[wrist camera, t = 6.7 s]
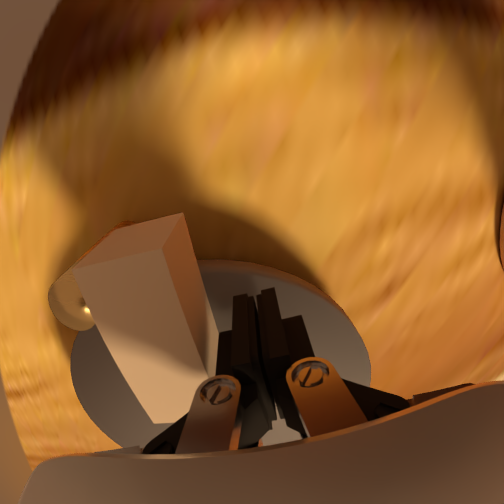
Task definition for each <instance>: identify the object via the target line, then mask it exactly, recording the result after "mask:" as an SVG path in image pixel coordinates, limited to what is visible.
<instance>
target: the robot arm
mask: <svg viewBox="0 0 504 504" xmlns="http://www.w3.org/2000/svg"><path fill="white" fill-rule="evenodd" d="M500 253H501V260H502V265H503V268H504V204H503V210H502V216H501V225H500ZM256 299H257V307H256V303H255V300H254V296H249V297H248V294H247V293H246V294H241V295H236V296H233V310H232V330H228V331H223V332H220V333H219V338H218V349H217V361H216V373H215V376H213V377H211V378H208V379H207V380H205V381H203V382H202V383H201V384H200V385H199V386H198V388H197V390H196V392H195V395H194V398H193V401H192V404H191V407H190V410H189V412H188V413H186V414H185V415H184V416H183V417H181V418H180V419H179V420H177V421H176V422H175V423H174V424H172V425H171V426H170V427H168V428H167V429H166V430H164V431H163V432H162V433H160V434H159V435H158V436H156V437H155V438H154V439H152V440H151V441H150V442H149V443H148V444H147V445H146V446H145V447H144V448H142V447H141V446H140V445H138V446H133V447H127V448H121V449H115V450H108V451H101V452H94V453H74V454H65V455H60V456H56V457H52V458H50V459H47V460H45V461H43V462H41V463H40V464H39V465H38V466H37V467H36V468H35V469H34V471H33V472H32V474H31V476H30V477H29V479H28V481H27V483H26V485H25V487H24V490H23V492H22V494H21V497H20V500H19V502H18V504H504V381H491V382H484V383H479V384H472V383H467V384H461V385H457V386H454V387H449V388H445V389H441V390H436V391H432V392H427V393H422V394H417V395H413V398H412V399H408V400H405V399H404V398H402V397H400V396H397V395H394V394H390V393H387V392H383V391H380V390H377V389H373V388H370V387H367V386H364V385H361V384H357V383H354V382H351V381H348V380H345V379H342V378H341V377H340V376H339V374H338V372H337V371H336V369H335V368H334V366H333V365H332V364H331V363H330V362H329V361H328V360H326V359H324V358H319V357H315V355H314V352H313V349H312V345H311V342H310V339H309V336H308V333H307V330H306V327H305V324H304V321H303V318H302V315H298V316H294V317H289V318H285V319H281V314H280V310H279V305H278V301H277V296H276V292H275V287H272V288H268V289H264V290H261V294H258V295H256ZM257 309H258V311H257ZM275 403H276V406H275ZM276 407H277V410H278V413H279V416H280V419H285V422H286V425H287V427H289V428H291V429H293V430H295V431H297V432H299V435H300V438H301V439H300V440H295V441H290V442H285V443H279V444H273V445H267V446H263V439H262V437H263V436H264V435H265V434H266V433H267V432H268V431H269V430H273V428H272V421H275V420H277V414H276Z"/></svg>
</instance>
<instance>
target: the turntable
mask: <svg viewBox="0 0 504 504" xmlns="http://www.w3.org/2000/svg"><path fill="white" fill-rule="evenodd" d="M72 272H73V275H74V277H75V280H76V282H77V284H78V287H79V289H80V291H81V294H82V296H83V298H84V300H85V303H86V305H87V307H88V309H89V311H90V314H91V316H92V318H93V320H94V322H95V324H94V326H93V327H92V328H90V329H88V330H85V331H79V333H78V335H77V337H76V339H75V341H74V344H73V349H72V353H71V376H72V382H73V386H74V389H75V392H76V394H77V397H78V399H79V401H80V403H81V405H82V406H83V408H84V410H85V411H86V413H87V414H88V415H89V417H90V418H91V420H92V421H93V422H94V423H95V424H96V425H97V426H98V427H99V428H100V430H102V431H103V432H104V433H105V434H106V435H107V436H108V437H109V438H111V439H112V440H113V441H114V442H116V443H117V444H119V445H120V446H121V447H123V448H127V447H133V446H138V445H140V446H141V447H142V448H144V447H145V446H146V445H147V444H148V443H149V442H150V441H151V440H152V439H154V438H155V437H156V436H158V435H159V434H160V433H162V432H163V431H164V430H166V429H167V428H168V427H170V426H171V425H172V424H174V423H175V422H176V421H177V420H179V419H180V418H181V417H183V416H184V415H185V414H186V413H188V412H189V410H190V407H191V404H192V401H193V398H194V395H195V392H196V390H197V388H198V386H199V385H200V384H201V383H202V382H203V381H205V380H207V379H208V378H211V377H213V376H215V373H216V361H217V349H218V338H219V333H220V332H223V331H228V330H232V310H233V296H236V295H241V294H246V293H247V294H248V297H249V296H254V300H255V303H256V307H257V299H256V295H258V294H261V290H264V289H268V288H272V287H275V292H276V296H277V301H278V305H279V310H280V314H281V319H285V318H289V317H294V316H298V315H302V318H303V321H304V324H305V327H306V330H307V333H308V336H309V339H310V342H311V345H312V349H313V352H314V355H315V357H319V358H324V359H326V360H328V361H329V362H330V363H331V364H332V365H333V366H334V368H335V369H336V371H337V372H338V374H339V376H340V377H341V378H342V379H345V380H348V381H351V382H354V383H357V384H361V385H364V386H367V387H370V382H371V365H370V360H369V355H368V352H367V349H366V347H365V345H364V342H363V340H362V338H361V336H360V335H359V333H358V332H357V330H356V328H355V327H354V325H353V323H352V322H351V320H350V319H349V318H348V316H347V315H346V313H345V312H344V311H343V309H342V308H341V307H340V306H339V305H338V304H337V303H336V302H335V301H334V300H333V299H332V298H331V297H330V296H328V295H327V294H325V293H324V292H323V291H321V290H320V289H318V288H317V287H316V286H314V285H313V284H311V283H309V282H307V281H305V280H303V279H301V278H299V277H297V276H295V275H293V274H290V273H287V272H284V271H282V270H279V269H276V268H273V267H269V266H265V265H260V264H256V263H251V262H246V261H236V260H226V259H204V260H196V257H195V253H194V250H193V246H192V242H191V239H190V235H189V231H188V228H187V224H186V220H185V216H184V213H183V212H182V213H178V214H174V215H170V216H166V217H161V218H157V219H153V220H150V221H146V222H142V223H138V224H134V225H130V226H126V227H123V228H119V229H115V230H114V231H113V232H112V233H111V234H109V235H108V236H107V237H106V238H105V239H104V240H103V241H102V242H100V243H99V244H98V245H97V246H96V247H95V248H94V249H93V250H92V251H91V252H90V253H89V254H87V255H86V256H85V257H84V258H83V259H82V260H81V261H80V262H79V263H78V264H77V265H76V266H75V267H74V268H73V269H72ZM257 311H258V309H257ZM275 406H276V403H275ZM276 414H277V420H275V421H272V428H273V430H269V431H268V432H267V433H266V434H265V435H264V436H263V437H262V439H263V446H267V445H273V444H279V443H285V442H290V441H295V440H300V439H301V438H300V435H299V432H297V431H295V430H293V429H291V428H289V427H287V425H286V422H285V419H280V416H279V413H278V410H277V407H276Z"/></svg>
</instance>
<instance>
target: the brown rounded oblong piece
mask: <svg viewBox="0 0 504 504" xmlns="http://www.w3.org/2000/svg"><path fill="white" fill-rule="evenodd" d="M134 224H137V223H135V222H132V221H124V222H121V223H119V224H118V225H117V226H116V227H114V228H113V229H112V230H111V231H110V232H109V233H107V234H106V235H105V236H104V237H103V238H102V239H100V240H99V241H98V242H97V243H96V244H95V245H94V246H93V247H91V248H90V249H89V250H88V251H87V252H86V253H85V254H84V255H83V256H82V257H80V258H79V259H78V260H77V261H76V262H75V263H74V264H73V265H72V266H71V267H70V268H69V269H68V270H67V271H66V272H65V273H64V274H63V275H61V276H60V277H59V278H58V279H57V280H56V281H55V282H54V283H53V284H52V286H51V287H50V289H49V293H48V301H49V305H50V308H51V310H52V312H53V314H54V315H55V317H56V318H57V319H58V320H59V321H60V322H61V323H62V324H64V325H65V326H67V327H68V328H70V329H73V330H77V331H85V330H88V329H90V328H92V327H93V326H94V324H95V322H94V320H93V318H92V316H91V314H90V311H89V309H88V307H87V305H86V303H85V300H84V298H83V296H82V294H81V291H80V289H79V287H78V284H77V282H76V280H75V277H74V275H73V272H72V269H73V268H74V267H75V266H76V265H77V264H78V263H79V262H80V261H81V260H82V259H83V258H84V257H85V256H86V255H87V254H89V253H90V252H91V251H92V250H93V249H94V248H95V247H96V246H97V245H98V244H99V243H100V242H102V241H103V240H104V239H105V238H106V237H107V236H108V235H109V234H111V233H112V232H113V231H114V230H115V229H119V228H123V227H126V226H130V225H134Z"/></svg>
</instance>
